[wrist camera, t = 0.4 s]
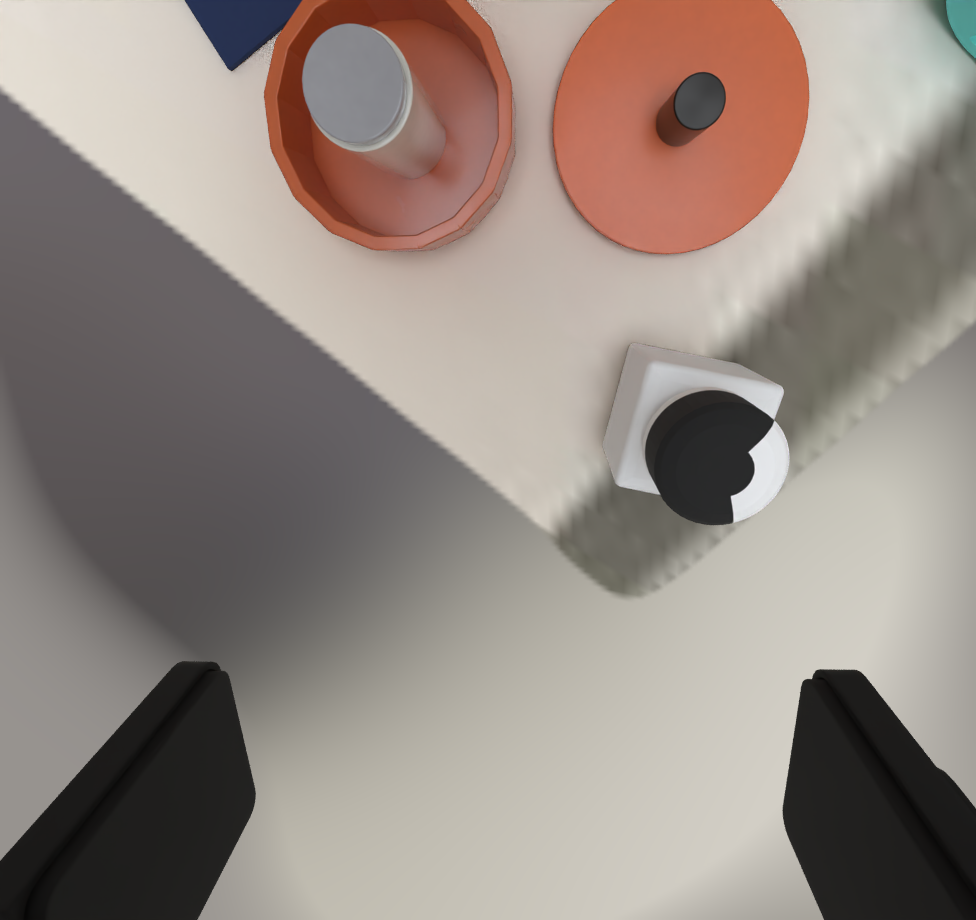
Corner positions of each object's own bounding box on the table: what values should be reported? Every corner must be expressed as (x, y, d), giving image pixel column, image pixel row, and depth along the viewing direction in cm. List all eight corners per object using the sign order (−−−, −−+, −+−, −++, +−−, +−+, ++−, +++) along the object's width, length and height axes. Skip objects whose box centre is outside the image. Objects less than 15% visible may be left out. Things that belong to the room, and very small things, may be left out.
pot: (289, 14, 32) (247, -27, 27) (514, 1, 31) (510, -44, 26) (315, 253, 36) (283, 252, 32) (515, 248, 35) (512, 247, 30)
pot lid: (554, -13, 31) (558, -68, 26) (819, -29, 30) (879, -89, 24) (550, 256, 35) (553, 256, 30) (781, 251, 34) (825, 250, 29)
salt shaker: (363, 90, 33) (289, 19, 23) (444, 86, 32) (404, 13, 23) (370, 181, 34) (303, 150, 24) (447, 178, 34) (411, 146, 24)
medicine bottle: (600, 447, 39) (626, 525, 27) (629, 341, 36) (670, 378, 25) (706, 469, 39) (776, 556, 27) (742, 363, 36) (834, 411, 25)
